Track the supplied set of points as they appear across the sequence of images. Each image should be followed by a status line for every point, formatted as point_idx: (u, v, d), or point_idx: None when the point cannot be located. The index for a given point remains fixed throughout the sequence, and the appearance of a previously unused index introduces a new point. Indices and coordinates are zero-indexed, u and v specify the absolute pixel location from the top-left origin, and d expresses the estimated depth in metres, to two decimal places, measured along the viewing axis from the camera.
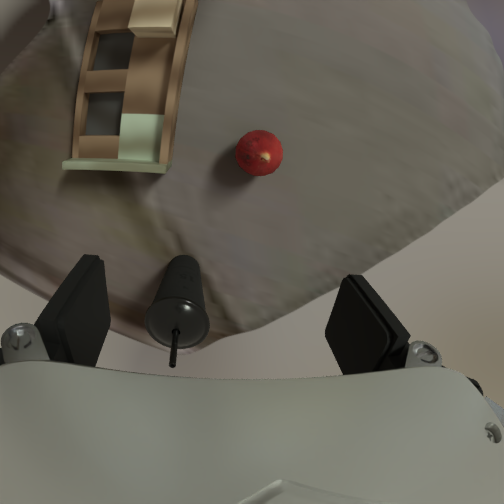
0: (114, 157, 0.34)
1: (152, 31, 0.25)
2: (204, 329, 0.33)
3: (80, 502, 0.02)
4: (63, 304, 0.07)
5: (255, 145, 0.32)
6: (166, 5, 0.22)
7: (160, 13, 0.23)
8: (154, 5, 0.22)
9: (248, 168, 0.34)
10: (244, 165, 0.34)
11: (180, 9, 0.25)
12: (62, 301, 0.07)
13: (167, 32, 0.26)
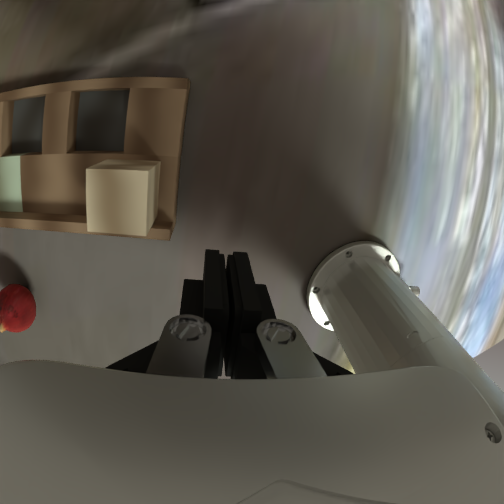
0: None
1: None
2: None
3: (80, 502, 0.02)
4: (221, 294, 0.08)
5: (8, 316, 0.24)
6: (119, 220, 0.21)
7: (107, 214, 0.20)
8: (120, 203, 0.20)
9: None
10: None
11: None
12: (217, 291, 0.09)
13: None
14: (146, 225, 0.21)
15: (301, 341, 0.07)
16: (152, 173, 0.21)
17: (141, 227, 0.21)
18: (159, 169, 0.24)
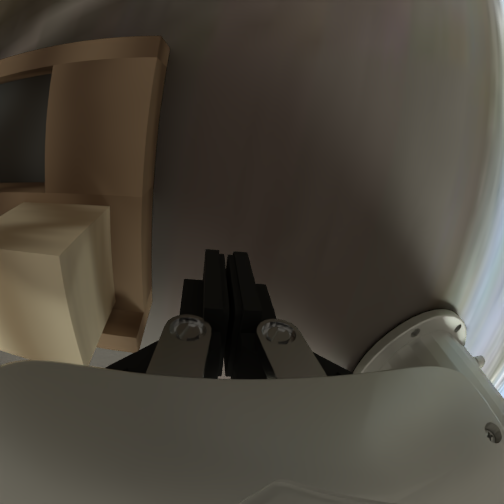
0: None
1: None
2: None
3: (80, 502, 0.02)
4: (221, 294, 0.08)
5: None
6: (33, 342, 0.09)
7: (11, 330, 0.08)
8: (25, 315, 0.08)
9: None
10: None
11: None
12: (217, 291, 0.09)
13: None
14: (82, 355, 0.09)
15: (301, 341, 0.07)
16: (80, 248, 0.09)
17: (73, 359, 0.09)
18: (107, 223, 0.12)
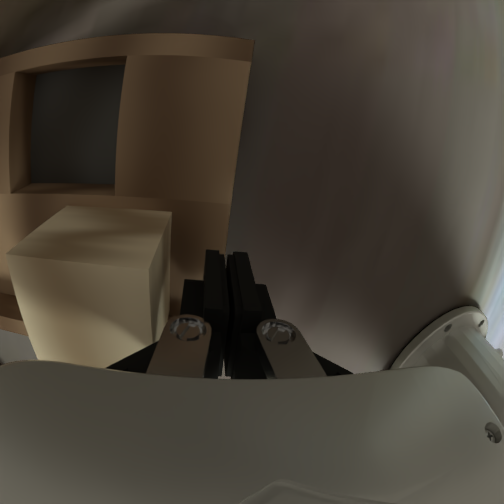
0: None
1: None
2: None
3: (80, 502, 0.02)
4: (222, 294, 0.08)
5: None
6: (97, 360, 0.09)
7: (69, 348, 0.08)
8: (91, 333, 0.08)
9: None
10: None
11: None
12: (218, 291, 0.09)
13: None
14: None
15: (301, 341, 0.07)
16: (158, 258, 0.09)
17: None
18: (170, 229, 0.12)
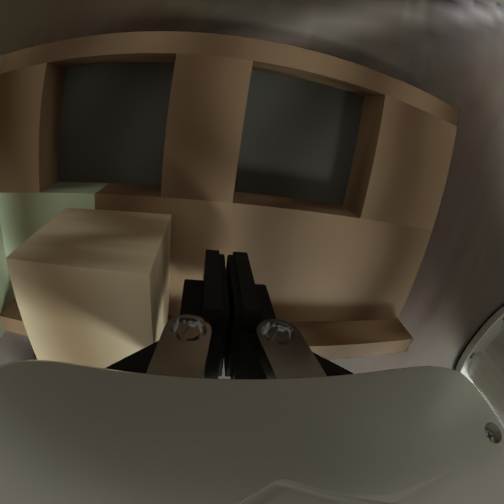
0: None
1: None
2: None
3: (80, 502, 0.02)
4: (222, 294, 0.08)
5: None
6: (97, 363, 0.09)
7: (70, 351, 0.08)
8: (92, 336, 0.08)
9: None
10: None
11: None
12: (218, 291, 0.09)
13: None
14: None
15: (301, 341, 0.07)
16: (158, 262, 0.09)
17: None
18: (170, 232, 0.12)
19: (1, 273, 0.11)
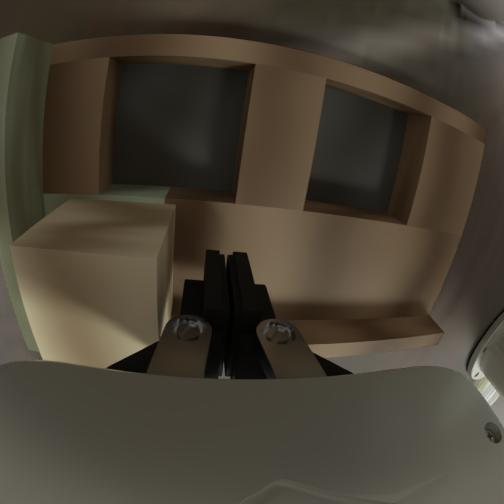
0: (45, 182, 0.11)
1: None
2: None
3: (80, 502, 0.02)
4: (222, 294, 0.08)
5: None
6: (101, 353, 0.09)
7: (72, 341, 0.08)
8: (96, 325, 0.08)
9: None
10: None
11: None
12: (218, 291, 0.09)
13: None
14: None
15: (301, 341, 0.07)
16: (163, 249, 0.09)
17: None
18: (174, 222, 0.12)
19: None
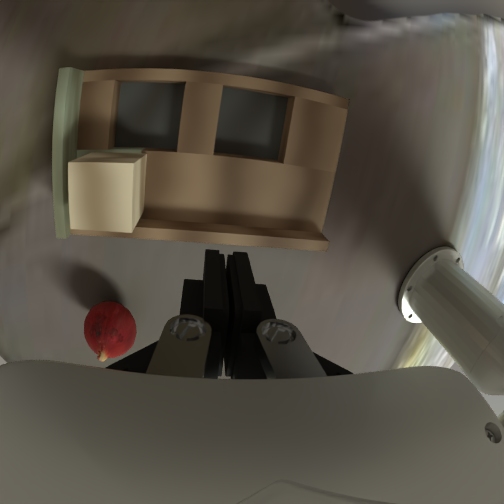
0: (78, 144, 0.21)
1: None
2: None
3: (80, 502, 0.02)
4: (222, 294, 0.08)
5: (112, 341, 0.25)
6: (103, 216, 0.19)
7: (90, 210, 0.19)
8: (104, 198, 0.18)
9: (87, 329, 0.25)
10: (89, 324, 0.25)
11: None
12: (217, 291, 0.09)
13: None
14: (132, 221, 0.20)
15: (301, 341, 0.07)
16: (138, 166, 0.19)
17: (126, 224, 0.20)
18: (145, 162, 0.22)
19: None
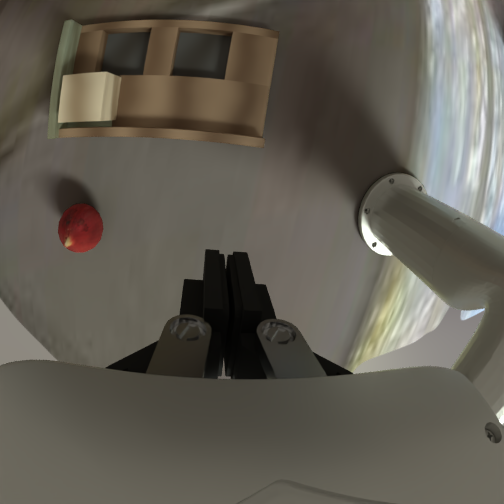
0: None
1: None
2: None
3: (80, 502, 0.02)
4: (221, 294, 0.08)
5: (78, 229, 0.28)
6: (82, 110, 0.22)
7: (73, 107, 0.22)
8: (84, 97, 0.22)
9: (60, 222, 0.29)
10: (63, 217, 0.29)
11: None
12: (217, 291, 0.09)
13: None
14: (101, 113, 0.23)
15: (301, 341, 0.07)
16: (111, 77, 0.23)
17: (97, 114, 0.23)
18: (119, 82, 0.26)
19: None
